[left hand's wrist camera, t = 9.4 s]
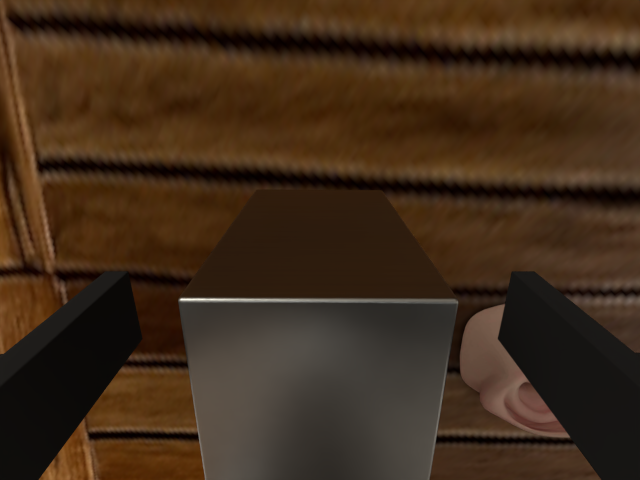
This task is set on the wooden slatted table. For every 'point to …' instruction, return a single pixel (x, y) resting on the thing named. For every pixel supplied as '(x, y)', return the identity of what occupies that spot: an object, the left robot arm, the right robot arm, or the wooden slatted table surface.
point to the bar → (318, 342)
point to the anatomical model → (502, 377)
